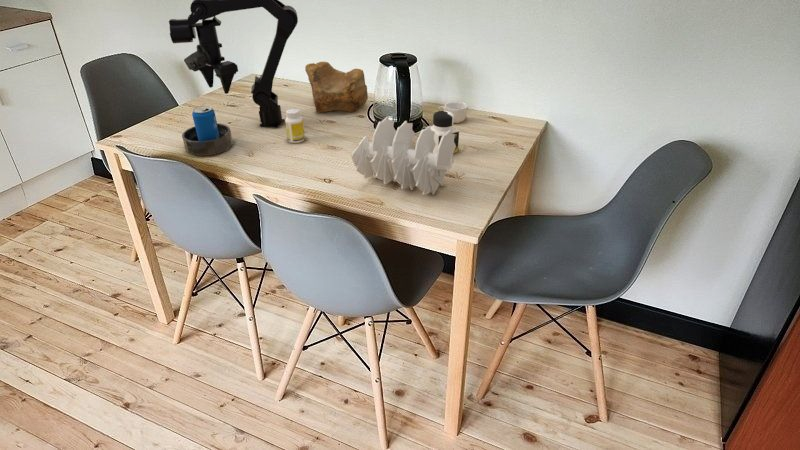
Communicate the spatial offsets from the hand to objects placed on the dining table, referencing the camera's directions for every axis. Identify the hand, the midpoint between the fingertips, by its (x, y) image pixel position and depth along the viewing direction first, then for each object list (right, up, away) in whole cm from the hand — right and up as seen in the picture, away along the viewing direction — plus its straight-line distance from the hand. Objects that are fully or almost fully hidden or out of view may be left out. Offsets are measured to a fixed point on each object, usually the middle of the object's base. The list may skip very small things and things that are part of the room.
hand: (218, 90), depth 172 cm
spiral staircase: (+60, -33, -27) cm, 74 cm away
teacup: (+77, -8, +10) cm, 78 cm away
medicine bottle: (+72, -21, -10) cm, 75 cm away
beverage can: (-1, -19, -6) cm, 20 cm away
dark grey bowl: (-1, -19, -5) cm, 20 cm away
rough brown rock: (+34, -2, +20) cm, 40 cm away
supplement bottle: (+25, -17, -2) cm, 30 cm away
